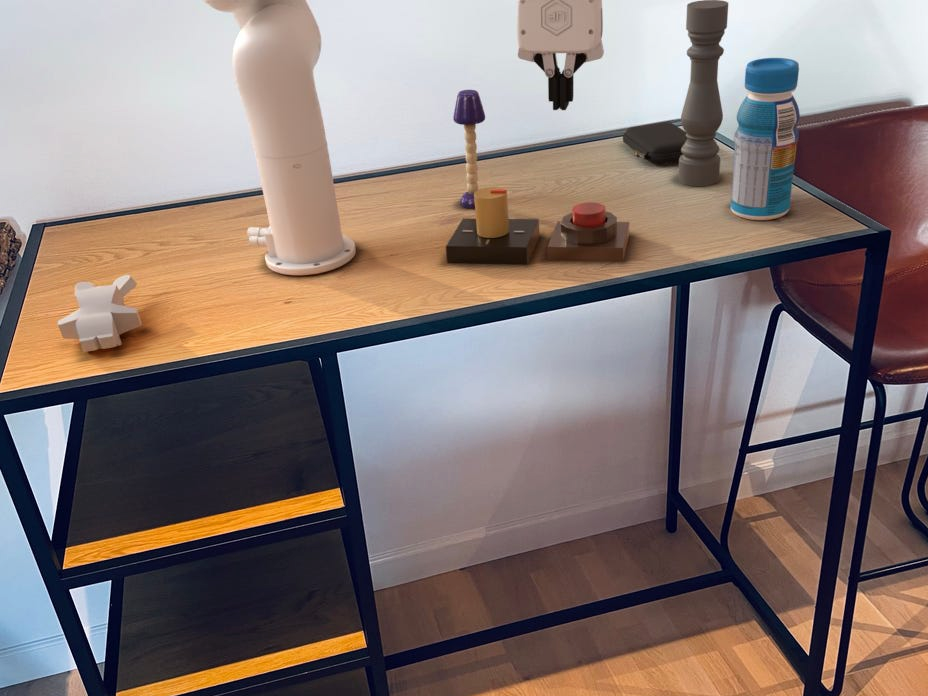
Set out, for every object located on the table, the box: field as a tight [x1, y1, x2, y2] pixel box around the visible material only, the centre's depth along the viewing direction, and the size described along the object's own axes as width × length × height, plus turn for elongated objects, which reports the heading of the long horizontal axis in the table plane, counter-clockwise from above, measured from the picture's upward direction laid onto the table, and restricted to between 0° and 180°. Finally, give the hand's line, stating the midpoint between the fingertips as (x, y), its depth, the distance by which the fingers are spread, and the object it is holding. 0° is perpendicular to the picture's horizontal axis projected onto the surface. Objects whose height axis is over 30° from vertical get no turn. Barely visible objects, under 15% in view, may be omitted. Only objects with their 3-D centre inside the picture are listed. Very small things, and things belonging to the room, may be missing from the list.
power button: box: [571, 201, 606, 227], centre depth 132 cm, size 4×4×2 cm
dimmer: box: [445, 217, 541, 266], centre depth 136 cm, size 11×10×3 cm
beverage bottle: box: [729, 57, 801, 221], centre depth 135 cm, size 8×8×20 cm
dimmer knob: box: [474, 186, 510, 238], centre depth 133 cm, size 4×4×6 cm
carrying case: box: [622, 121, 688, 166], centre depth 164 cm, size 11×3×15 cm
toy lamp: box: [453, 89, 486, 209], centre depth 146 cm, size 5×5×17 cm
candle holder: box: [677, 0, 729, 187], centre depth 145 cm, size 6×6×25 cm
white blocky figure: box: [57, 274, 142, 353], centre depth 124 cm, size 10×5×15 cm
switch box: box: [546, 210, 630, 263], centre depth 133 cm, size 10×9×4 cm
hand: (561, 107), depth 127 cm, fingers closed
